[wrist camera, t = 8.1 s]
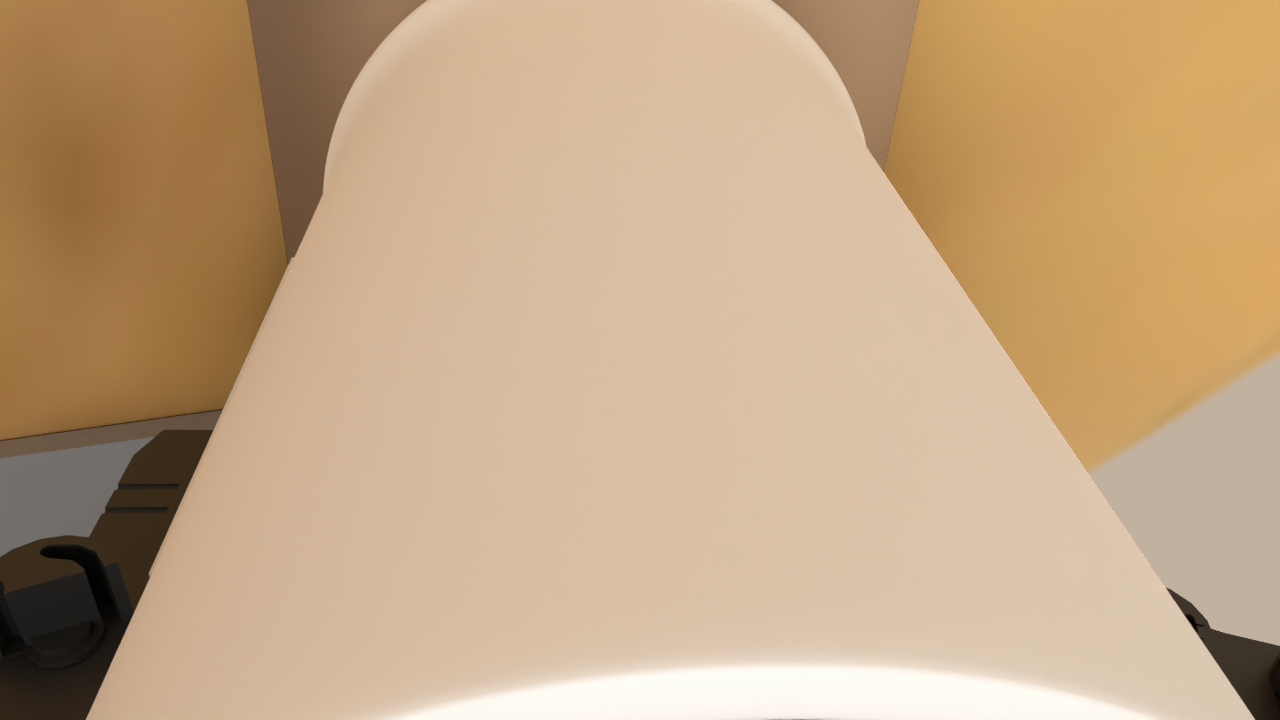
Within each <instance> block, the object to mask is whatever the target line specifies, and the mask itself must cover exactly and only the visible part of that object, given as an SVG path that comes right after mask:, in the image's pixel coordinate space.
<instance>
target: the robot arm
mask: <svg viewBox="0 0 1280 720" xmlns="http://www.w3.org/2000/svg"><path fill="white" fill-rule="evenodd" d="M293 260H294V257H292V258H291V260H290V262H289V265H288V267H287V269H286V271H285V274H284V276H283V278H282V280H281V282H280V285H279V287H278V289H277V291H276V293H275V296H274V298H273V300H272V302H271V304H270V307H269V309H268V311H267V313H266V316H265V318H264V320H263V322H262V324H261V327H260V329H259V331H258V333H257V335H256V338H255V340H254V342H253V344H252V346H251V349H250V351H249V353H248V355H247V357H246V360H245V362H244V364H243V366H242V369H241V371H240V373H239V375H238V377H237V380H236V382H235V384H234V386H233V388H232V391H231V393H230V395H229V397H228V399H227V402H226V404H225V406H224V408H223V410H222V413H221V415H220V417H219V419H218V422H217V424H216V426H215V428H214V430H163V431H162V432H160V433H159V434H158V435H157V436H156V437H154V438H153V439H152V440H151V441H150V442H148V443H147V444H146V445H145V446H144V447H142V448H141V449H140V450H139V451H138V452H136V453H135V454H134V455H133V457H132V459H131V460H130V462H129V464H128V466H127V468H126V470H125V472H124V473H123V475H122V477H121V479H120V481H119V483H118V489H117V490H114V492H113V494H112V496H111V497H110V499H109V501H108V503H107V505H106V507H105V514H101V516H100V518H99V520H98V521H97V523H96V525H95V527H94V529H93V531H92V532H91V534H90V536H89V537H82V536H73V535H64V536H57V537H50V538H43V539H39V540H36V541H33V542H31V543H28V544H25V545H23V546H20V547H17V548H15V549H12V550H10V551H9V552H7V553H6V554H4V555H3V556H1V557H0V720H86V718H87V716H88V714H89V712H90V709H91V707H92V705H93V703H94V701H95V698H96V696H97V694H98V692H99V689H100V687H101V685H102V683H103V681H104V678H105V676H106V674H107V672H108V670H109V667H110V665H111V663H112V661H113V658H114V656H115V654H116V652H117V650H118V647H119V645H120V643H121V641H122V639H123V636H124V634H125V632H126V630H127V627H128V625H129V623H130V621H131V619H132V616H133V614H134V612H135V610H136V607H137V605H138V603H139V601H140V599H141V596H142V594H143V592H144V590H145V588H146V585H147V583H148V581H149V579H150V576H151V574H152V572H153V570H154V568H155V565H156V563H157V561H158V559H159V557H160V554H161V552H162V550H163V548H164V545H165V543H166V541H167V539H168V537H169V534H170V532H171V530H172V528H173V526H174V523H175V521H176V519H177V517H178V514H179V512H180V510H181V508H182V506H183V503H184V501H185V499H186V497H187V495H188V492H189V490H190V488H191V486H192V483H193V481H194V479H195V477H196V475H197V472H198V470H199V468H200V466H201V463H202V461H203V459H204V457H205V455H206V452H207V450H208V448H209V446H210V444H211V441H212V439H213V437H214V435H215V432H216V430H217V428H218V426H219V424H220V421H221V419H222V417H223V415H224V413H225V410H226V408H227V406H228V404H229V401H230V399H231V397H232V395H233V393H234V390H235V388H236V386H237V384H238V382H239V379H240V377H241V375H242V373H243V370H244V368H245V366H246V364H247V362H248V359H249V357H250V355H251V353H252V351H253V348H254V346H255V344H256V342H257V339H258V337H259V335H260V333H261V331H262V328H263V326H264V324H265V322H266V319H267V317H268V315H269V313H270V311H271V308H272V306H273V304H274V302H275V300H276V297H277V295H278V293H279V291H280V288H281V286H282V284H283V282H284V280H285V277H286V275H287V273H288V271H289V269H290V266H291V264H292V262H293ZM1165 588H1166V587H1165ZM1166 589H1167V590H1168V592H1169V593H1170V595H1171V596H1172V598H1173V599H1174V601H1175V602H1176V604H1177V605H1178V607H1179V608H1180V610H1181V611H1182V613H1183V614H1184V616H1185V617H1186V618H1187V620H1188V621H1189V623H1190V624H1191V626H1192V627H1193V629H1194V630H1195V632H1196V633H1197V635H1198V636H1199V638H1200V639H1201V641H1202V642H1203V643H1204V645H1205V646H1206V648H1207V649H1208V651H1209V652H1210V654H1211V655H1212V657H1213V658H1214V660H1215V661H1216V663H1217V664H1218V666H1219V667H1220V669H1221V670H1222V671H1223V673H1224V674H1225V676H1226V677H1227V679H1228V680H1229V682H1230V683H1231V685H1232V686H1233V688H1234V689H1235V691H1236V692H1237V694H1238V695H1239V697H1240V698H1241V700H1242V701H1243V702H1244V704H1245V705H1246V707H1247V708H1248V710H1249V711H1250V713H1251V714H1252V716H1253V717H1254V719H1255V720H1280V646H1277V645H1273V644H1269V643H1265V642H1260V641H1256V640H1252V639H1248V638H1243V637H1239V636H1235V635H1231V634H1226V633H1223V632H1220V631H1216V630H1213V629H1211V628H1210V626H1209V624H1208V621H1207V620H1206V619H1205V618H1204V616H1203V615H1202V614H1201V613H1200V612H1199V611H1198V610H1197V609H1196V608H1195V607H1194V606H1193V605H1192V603H1190V602H1189V601H1187V600H1186V599H1184V598H1182V597H1181V596H1179V595H1178V594H1177V593H1175V592H1174V591H1172V590H1171V589H1168V588H1166Z"/></svg>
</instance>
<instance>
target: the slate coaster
mask: <svg viewBox="0 0 1280 720" xmlns="http://www.w3.org/2000/svg"><path fill="white" fill-rule="evenodd" d="M221 413H222V410H218V411H211V412H204V413H197V414H190V415H183V416H176V417H168V418H161V419H154V420H147V421H140V422H133V423H126V424H119V425H111V426H104V427H97V428H90V429H83V430H76V431H69V432H61V433H54V434H47V435H40V436H33V437H26V438H19V439H12V440H4V441H0V557H1V556H3V555H4V554H6V553H7V552H9V551H10V550H12V549H15V548H17V547H20V546H23V545H25V544H28V543H31V542H33V541H36V540H39V539H43V538H50V537H57V536H64V535H73V536H82V537H89V536H90V534H91V532H92V531H93V529H94V527H95V525H96V523H97V521H98V520H99V518H100V516H101V514H105V507H106V505H107V503H108V501H109V499H110V497H111V496H112V494H113V492H114V490H117V489H118V483H119V481H120V479H121V477H122V475H123V473H124V472H125V470H126V468H127V466H128V464H129V462H130V460H131V459H132V457H133V455H134V454H135V453H136V452H138V451H139V450H140V449H141V448H142V447H144V446H145V445H146V444H147V443H148V442H150V441H151V440H152V439H153V438H154V437H156V436H157V435H158V434H159V433H160V432H162V431H163V430H214V428H215V426H216V424H217V422H218V419H219V417H220V415H221Z"/></svg>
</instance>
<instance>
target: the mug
mask: <svg viewBox="0 0 1280 720" xmlns="http://www.w3.org/2000/svg"><path fill="white" fill-rule="evenodd" d="M86 720H1255V719H1254V717H1253V716H1252V714H1251V713H1250V711H1249V710H1248V708H1247V707H1246V705H1245V704H1244V702H1243V701H1242V700H1241V698H1240V697H1239V695H1238V694H1237V692H1236V691H1235V689H1234V688H1233V686H1232V685H1231V683H1230V682H1229V680H1228V679H1227V677H1226V676H1225V674H1224V673H1223V671H1222V670H1221V669H1220V667H1219V666H1218V664H1217V663H1216V661H1215V660H1214V658H1213V657H1212V655H1211V654H1210V652H1209V651H1208V649H1207V648H1206V646H1205V645H1204V643H1203V642H1202V641H1201V639H1200V638H1199V636H1198V635H1197V633H1196V632H1195V630H1194V629H1193V627H1192V626H1191V624H1190V623H1189V621H1188V620H1187V618H1186V617H1185V616H1184V614H1183V613H1182V611H1181V610H1180V608H1179V607H1178V605H1177V604H1176V602H1175V601H1174V599H1173V598H1172V596H1171V595H1170V593H1169V592H1168V590H1167V589H1166V588H1165V586H1164V585H1163V583H1162V582H1161V580H1160V579H1159V577H1158V576H1157V574H1156V573H1155V571H1154V570H1153V568H1152V567H1151V566H1150V564H1149V563H1148V561H1147V560H1146V558H1145V557H1144V555H1143V554H1142V552H1141V551H1140V549H1139V548H1138V546H1137V545H1136V543H1135V542H1134V540H1133V539H1132V537H1131V536H1130V535H1129V533H1128V532H1127V530H1126V529H1125V527H1124V526H1123V524H1122V523H1121V521H1120V520H1119V518H1118V517H1117V516H1116V514H1115V512H1114V511H1113V510H1112V508H1111V507H1110V505H1109V504H1108V502H1107V501H1106V499H1105V498H1104V496H1103V495H1102V493H1101V492H1100V490H1099V489H1098V487H1097V486H1096V485H1095V483H1094V482H1093V480H1092V479H1091V477H1090V476H1089V474H1088V473H1087V471H1086V470H1085V468H1084V467H1083V465H1082V464H1081V462H1080V461H1079V459H1078V458H1077V456H1076V455H1075V454H1074V452H1073V451H1072V449H1071V448H1070V446H1069V445H1068V443H1067V442H1066V440H1065V439H1064V437H1063V436H1062V434H1061V433H1060V431H1059V430H1058V428H1057V427H1056V426H1055V424H1054V423H1053V421H1052V420H1051V418H1050V417H1049V415H1048V414H1047V412H1046V411H1045V409H1044V408H1043V406H1042V405H1041V403H1040V402H1039V401H1038V399H1037V398H1036V396H1035V395H1034V393H1033V392H1032V390H1031V389H1030V387H1029V386H1028V384H1027V383H1026V381H1025V380H1024V378H1023V377H1022V375H1021V374H1020V373H1019V371H1018V370H1017V368H1016V367H1015V365H1014V364H1013V362H1012V361H1011V359H1010V358H1009V356H1008V355H1007V353H1006V352H1005V350H1004V349H1003V347H1002V346H1001V345H1000V343H999V342H998V340H997V339H996V337H995V336H994V334H993V333H992V331H991V330H990V328H989V327H988V325H987V324H986V322H985V321H984V320H983V318H982V317H981V315H980V314H979V312H978V311H977V309H976V308H975V306H974V305H973V303H972V302H971V300H970V299H969V297H968V296H967V294H966V293H965V292H964V290H963V289H962V287H961V286H960V284H959V283H958V281H957V280H956V278H955V277H954V275H953V274H952V272H951V271H950V269H949V268H948V266H947V265H946V264H945V262H944V261H943V259H942V258H941V256H940V255H939V253H938V252H937V250H936V249H935V247H934V246H933V244H932V243H931V241H930V240H929V239H928V237H927V236H926V234H925V233H924V231H923V230H922V228H921V227H920V225H919V224H918V222H917V221H916V219H915V218H914V216H913V215H912V213H911V212H910V211H909V209H908V208H907V206H906V205H905V203H904V202H903V200H902V199H901V197H900V196H899V194H898V193H897V191H896V190H895V188H894V187H893V186H892V184H891V183H890V181H889V180H888V178H887V177H886V175H885V174H884V172H883V171H882V169H881V168H880V166H879V165H878V163H877V162H876V160H875V159H874V157H873V156H872V154H871V153H870V151H869V150H868V148H867V146H866V142H865V138H864V134H863V131H862V127H861V124H860V121H859V118H858V115H857V112H856V110H855V107H854V105H853V103H852V100H851V98H850V96H849V94H848V92H847V90H846V88H845V86H844V84H843V82H842V80H841V78H840V76H839V75H838V73H837V71H836V70H835V68H834V67H833V65H832V64H831V62H830V61H829V59H828V58H827V56H826V55H825V54H824V52H823V51H822V50H821V48H820V47H819V46H818V45H817V43H816V42H815V41H814V40H813V39H812V37H811V36H810V35H809V34H808V33H807V32H806V31H805V30H804V29H803V28H802V27H801V25H800V24H799V23H797V22H796V21H795V20H794V19H793V18H792V17H791V16H790V15H789V14H788V13H787V12H786V11H784V10H783V9H782V8H781V7H780V6H778V5H777V4H776V3H774V2H773V1H772V0H427V1H426V2H424V3H423V4H422V5H420V6H419V7H418V8H417V9H415V10H414V11H413V12H412V13H411V14H410V15H408V16H407V17H406V18H405V19H404V20H403V21H402V22H401V23H400V24H399V25H398V26H397V27H396V28H395V29H394V30H393V31H392V32H391V33H390V34H389V35H388V36H387V37H386V38H385V40H384V41H383V42H382V43H381V44H380V45H379V47H378V48H377V49H376V50H375V52H374V53H373V54H372V56H371V57H370V58H369V60H368V61H367V63H366V64H365V66H364V67H363V69H362V70H361V72H360V73H359V75H358V77H357V78H356V80H355V82H354V84H353V86H352V87H351V89H350V91H349V93H348V95H347V97H346V99H345V102H344V104H343V106H342V108H341V111H340V113H339V116H338V119H337V121H336V124H335V127H334V131H333V134H332V138H331V141H330V145H329V150H328V155H327V160H326V166H325V174H324V185H323V195H322V197H321V199H320V202H319V204H318V206H317V209H316V211H315V213H314V215H313V218H312V220H311V222H310V224H309V226H308V229H307V231H306V233H305V235H304V238H303V240H302V242H301V244H300V246H299V249H298V251H297V253H296V255H295V257H294V260H293V262H292V264H291V266H290V269H289V271H288V273H287V275H286V277H285V280H284V282H283V284H282V286H281V288H280V291H279V293H278V295H277V297H276V300H275V302H274V304H273V306H272V308H271V311H270V313H269V315H268V317H267V319H266V322H265V324H264V326H263V328H262V331H261V333H260V335H259V337H258V339H257V342H256V344H255V346H254V348H253V351H252V353H251V355H250V357H249V359H248V362H247V364H246V366H245V368H244V370H243V373H242V375H241V377H240V379H239V382H238V384H237V386H236V388H235V390H234V393H233V395H232V397H231V399H230V401H229V404H228V406H227V408H226V410H225V413H224V415H223V417H222V419H221V421H220V424H219V426H218V428H217V430H216V432H215V435H214V437H213V439H212V441H211V444H210V446H209V448H208V450H207V452H206V455H205V457H204V459H203V461H202V463H201V466H200V468H199V470H198V472H197V475H196V477H195V479H194V481H193V483H192V486H191V488H190V490H189V492H188V495H187V497H186V499H185V501H184V503H183V506H182V508H181V510H180V512H179V514H178V517H177V519H176V521H175V523H174V526H173V528H172V530H171V532H170V534H169V537H168V539H167V541H166V543H165V545H164V548H163V550H162V552H161V554H160V557H159V559H158V561H157V563H156V565H155V568H154V570H153V572H152V574H151V576H150V579H149V581H148V583H147V585H146V588H145V590H144V592H143V594H142V596H141V599H140V601H139V603H138V605H137V607H136V610H135V612H134V614H133V616H132V619H131V621H130V623H129V625H128V627H127V630H126V632H125V634H124V636H123V639H122V641H121V643H120V645H119V647H118V650H117V652H116V654H115V656H114V658H113V661H112V663H111V665H110V667H109V670H108V672H107V674H106V676H105V678H104V681H103V683H102V685H101V687H100V689H99V692H98V694H97V696H96V698H95V701H94V703H93V705H92V707H91V709H90V712H89V714H88V716H87V718H86Z"/></svg>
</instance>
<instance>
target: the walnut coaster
mask: <svg viewBox="0 0 1280 720" xmlns="http://www.w3.org/2000/svg"><path fill="white" fill-rule="evenodd" d="M426 1H427V0H247V3H248V10H249V16H250V23H251V29H252V36H253V42H254V48H255V55H256V61H257V68H258V74H259V81H260V87H261V93H262V100H263V106H264V113H265V119H266V125H267V132H268V138H269V145H270V151H271V158H272V164H273V170H274V177H275V183H276V190H277V196H278V202H279V209H280V215H281V222H282V228H283V235H284V241H285V247H286V254H287V260H288V265H289V262H290V260H291V258H292V257H295V255H296V253H297V251H298V249H299V246H300V244H301V242H302V240H303V238H304V235H305V233H306V231H307V229H308V226H309V224H310V222H311V220H312V218H313V215H314V213H315V211H316V209H317V206H318V204H319V202H320V199H321V197H322V195H323V185H324V174H325V166H326V160H327V155H328V150H329V145H330V141H331V138H332V134H333V131H334V127H335V124H336V121H337V119H338V116H339V113H340V111H341V108H342V106H343V104H344V102H345V99H346V97H347V95H348V93H349V91H350V89H351V87H352V86H353V84H354V82H355V80H356V78H357V77H358V75H359V73H360V72H361V70H362V69H363V67H364V66H365V64H366V63H367V61H368V60H369V58H370V57H371V56H372V54H373V53H374V52H375V50H376V49H377V48H378V47H379V45H380V44H381V43H382V42H383V41H384V40H385V38H386V37H387V36H388V35H389V34H390V33H391V32H392V31H393V30H394V29H395V28H396V27H397V26H398V25H399V24H400V23H401V22H402V21H403V20H404V19H405V18H406V17H407V16H408V15H410V14H411V13H412V12H413V11H414V10H415V9H417V8H418V7H419V6H420V5H422V4H423V3H424V2H426ZM772 1H773V2H774V3H776V4H777V5H778V6H780V7H781V8H782V9H783V10H784V11H786V12H787V13H788V14H789V15H790V16H791V17H792V18H793V19H794V20H795V21H796V22H797V23H799V24H800V25H801V27H802V28H803V29H804V30H805V31H806V32H807V33H808V34H809V35H810V36H811V37H812V39H813V40H814V41H815V42H816V43H817V45H818V46H819V47H820V48H821V50H822V51H823V52H824V54H825V55H826V56H827V58H828V59H829V61H830V62H831V64H832V65H833V67H834V68H835V70H836V71H837V73H838V75H839V76H840V78H841V80H842V82H843V84H844V86H845V88H846V90H847V92H848V94H849V96H850V98H851V100H852V103H853V105H854V107H855V110H856V112H857V115H858V118H859V121H860V124H861V127H862V131H863V134H864V138H865V142H866V146H867V148H868V150H869V151H870V153H871V154H872V156H873V157H874V159H875V160H876V162H877V163H878V165H879V166H880V168H881V169H882V171H884V167H885V162H886V157H887V152H888V147H889V143H890V138H891V133H892V128H893V124H894V119H895V114H896V109H897V104H898V100H899V95H900V90H901V85H902V81H903V76H904V71H905V66H906V61H907V57H908V52H909V47H910V42H911V37H912V33H913V28H914V23H915V18H916V14H917V9H918V4H919V0H772Z"/></svg>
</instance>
